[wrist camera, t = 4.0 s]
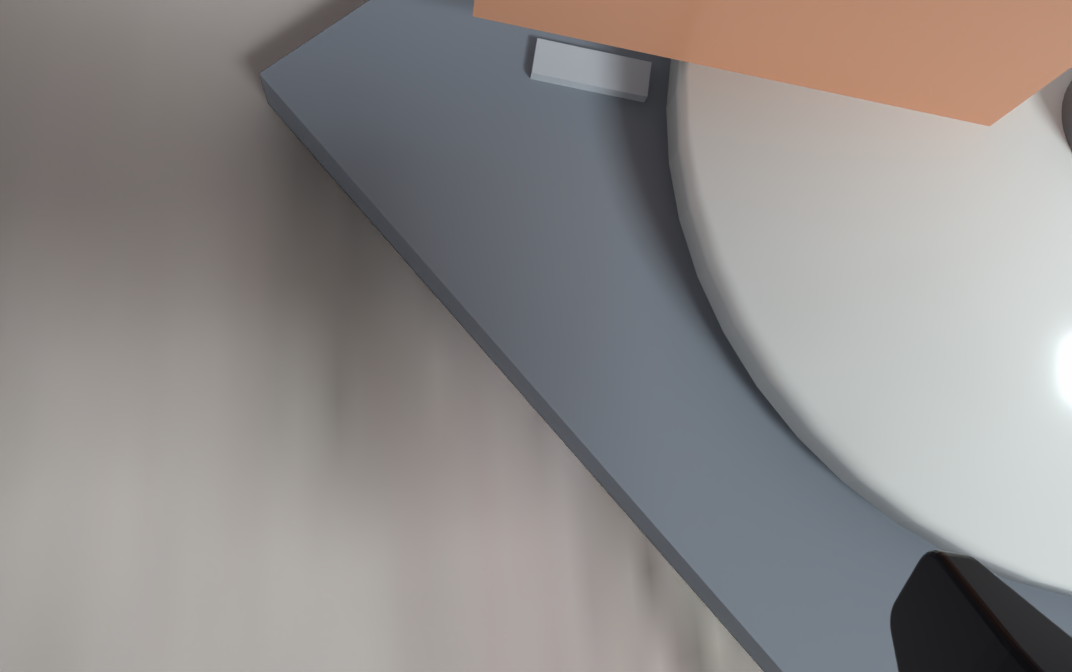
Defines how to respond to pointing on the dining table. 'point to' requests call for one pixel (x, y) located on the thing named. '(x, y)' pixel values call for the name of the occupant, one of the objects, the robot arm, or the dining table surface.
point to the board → (600, 306)
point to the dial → (884, 239)
